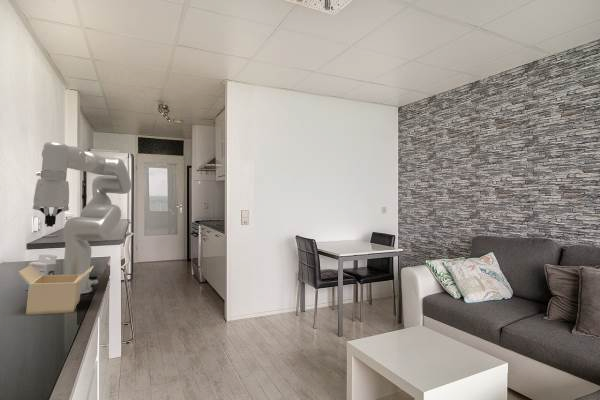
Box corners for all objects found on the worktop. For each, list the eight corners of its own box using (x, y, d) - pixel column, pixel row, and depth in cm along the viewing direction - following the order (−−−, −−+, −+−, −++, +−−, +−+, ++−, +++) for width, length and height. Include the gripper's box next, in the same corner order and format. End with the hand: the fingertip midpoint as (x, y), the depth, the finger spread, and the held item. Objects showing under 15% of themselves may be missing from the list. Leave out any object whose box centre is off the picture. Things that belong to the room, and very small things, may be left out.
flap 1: (30, 283, 112) (28, 284, 111) (39, 275, 124) (38, 276, 124) (19, 271, 110) (17, 272, 110) (30, 265, 123) (28, 265, 122)
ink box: (25, 291, 139) (28, 255, 140) (35, 288, 144) (39, 254, 145) (44, 293, 138) (47, 256, 139) (54, 290, 143) (57, 255, 144)
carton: (37, 302, 124) (40, 275, 125) (79, 300, 130) (82, 274, 131) (25, 315, 110) (29, 284, 111) (73, 312, 116) (76, 282, 116)
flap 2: (81, 274, 130) (82, 275, 130) (76, 281, 117) (77, 282, 118) (92, 265, 131) (93, 266, 131) (89, 271, 119) (90, 272, 119)
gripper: (26, 173, 117) (21, 226, 117) (77, 178, 125) (73, 227, 124) (30, 174, 124) (26, 225, 123) (78, 179, 131) (75, 226, 131)
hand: (49, 226), depth 124 cm, fingers closed
